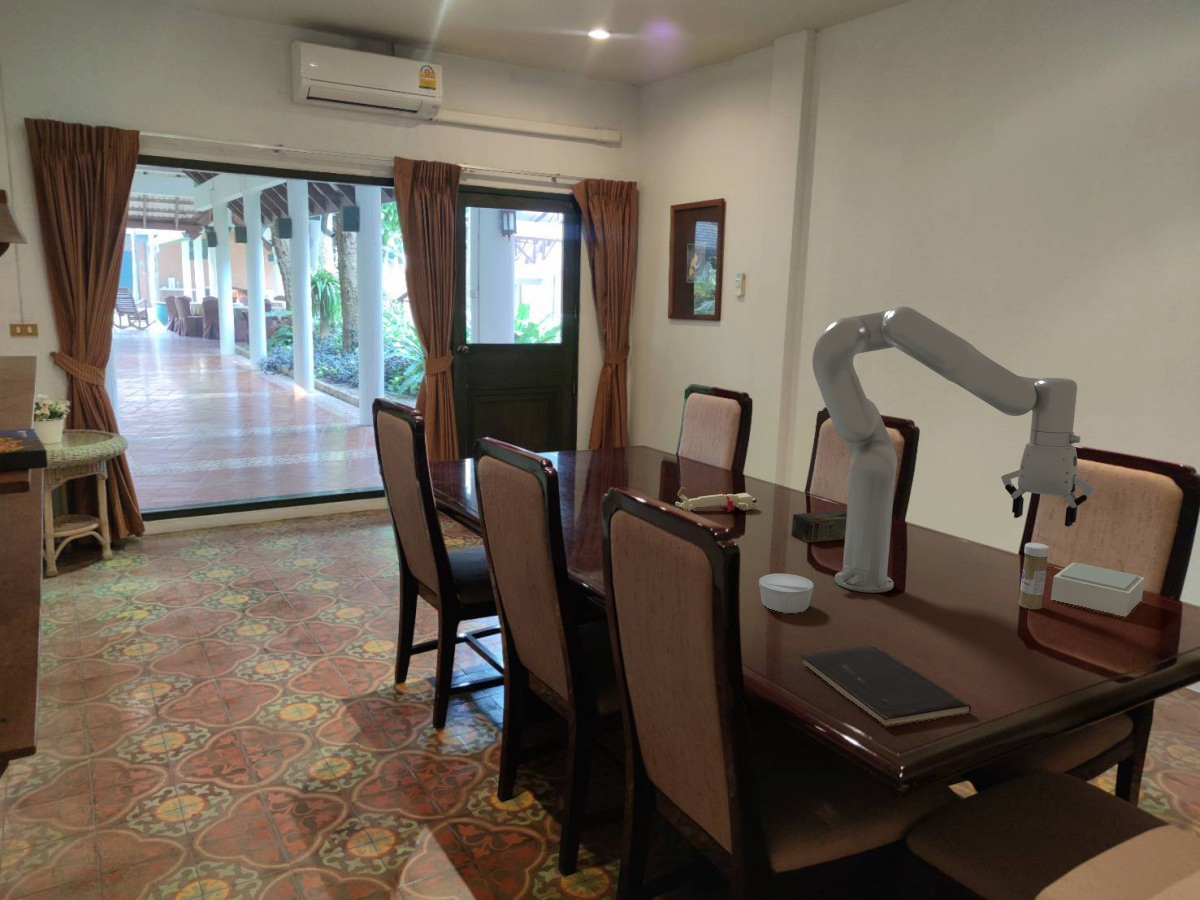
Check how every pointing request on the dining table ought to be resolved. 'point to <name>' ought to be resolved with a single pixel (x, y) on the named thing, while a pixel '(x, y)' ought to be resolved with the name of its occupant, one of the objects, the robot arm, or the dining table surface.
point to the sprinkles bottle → (1033, 575)
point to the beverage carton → (819, 526)
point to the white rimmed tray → (1098, 588)
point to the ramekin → (786, 592)
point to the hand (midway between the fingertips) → (1042, 520)
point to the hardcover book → (884, 685)
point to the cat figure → (717, 501)
